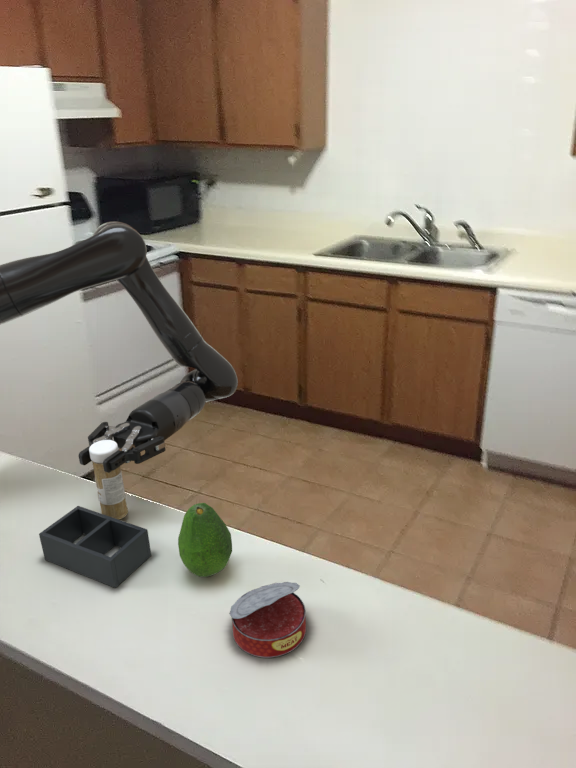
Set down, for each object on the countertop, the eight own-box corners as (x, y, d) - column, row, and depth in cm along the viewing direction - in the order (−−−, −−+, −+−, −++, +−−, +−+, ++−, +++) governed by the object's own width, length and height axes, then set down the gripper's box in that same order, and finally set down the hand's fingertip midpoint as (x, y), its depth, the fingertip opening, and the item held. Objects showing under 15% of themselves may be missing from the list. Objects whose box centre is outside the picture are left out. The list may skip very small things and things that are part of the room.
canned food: (247, 680, 88) (206, 635, 83) (254, 618, 96) (216, 574, 92) (323, 654, 85) (284, 606, 80) (323, 592, 93) (287, 546, 89)
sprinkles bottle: (100, 509, 115) (87, 441, 109) (127, 504, 116) (115, 436, 110) (102, 525, 111) (89, 455, 105) (130, 518, 112) (118, 449, 106)
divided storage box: (44, 559, 104) (38, 533, 102) (82, 530, 111) (77, 505, 109) (115, 588, 98) (110, 561, 96) (151, 555, 105) (147, 529, 103)
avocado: (171, 580, 99) (162, 513, 94) (199, 549, 106) (192, 485, 101) (218, 595, 96) (211, 527, 91) (244, 562, 102) (239, 496, 97)
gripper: (126, 392, 121) (56, 434, 108) (190, 406, 115) (124, 453, 102) (132, 428, 125) (64, 473, 111) (194, 444, 118) (130, 494, 105)
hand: (93, 463), depth 106 cm, fingers closed on sprinkles bottle, 4 cm apart
